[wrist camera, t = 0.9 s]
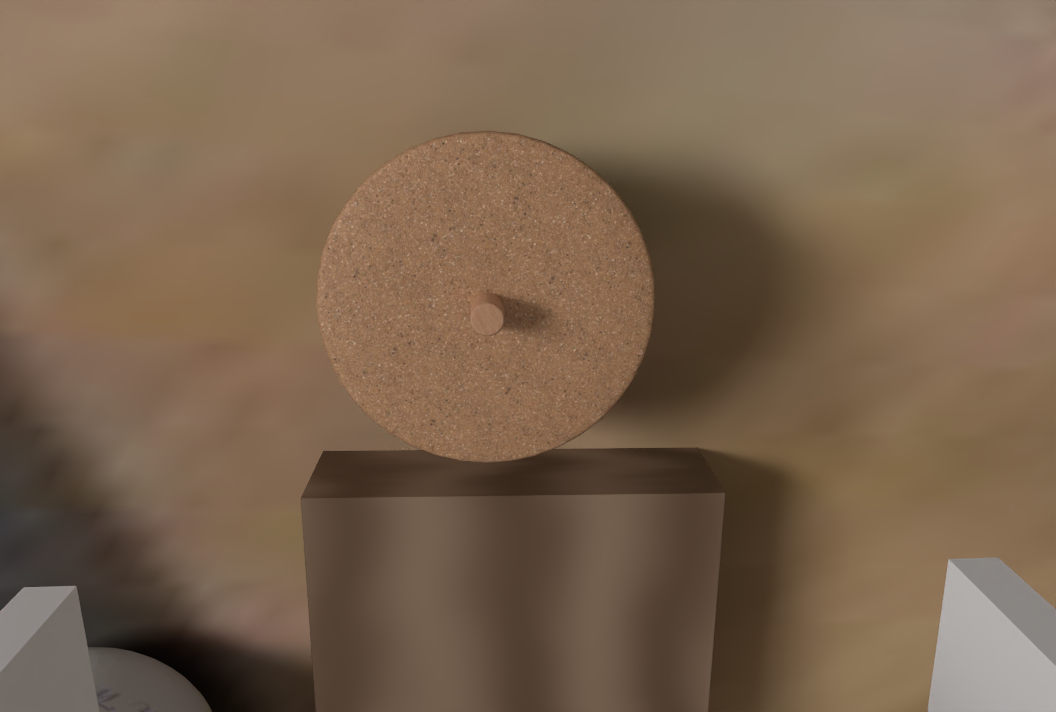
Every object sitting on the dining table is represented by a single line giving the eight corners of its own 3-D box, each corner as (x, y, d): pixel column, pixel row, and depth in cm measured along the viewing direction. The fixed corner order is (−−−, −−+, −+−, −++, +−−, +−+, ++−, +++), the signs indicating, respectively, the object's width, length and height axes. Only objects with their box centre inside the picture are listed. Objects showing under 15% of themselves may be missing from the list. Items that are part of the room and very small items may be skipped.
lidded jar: (551, 77, 32) (576, 65, 23) (661, 323, 35) (720, 397, 26) (303, 201, 33) (234, 236, 24) (430, 431, 36) (410, 539, 27)
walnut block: (344, 757, 41) (325, 844, 36) (325, 447, 37) (300, 498, 32) (673, 748, 42) (698, 831, 37) (694, 443, 37) (725, 493, 32)
